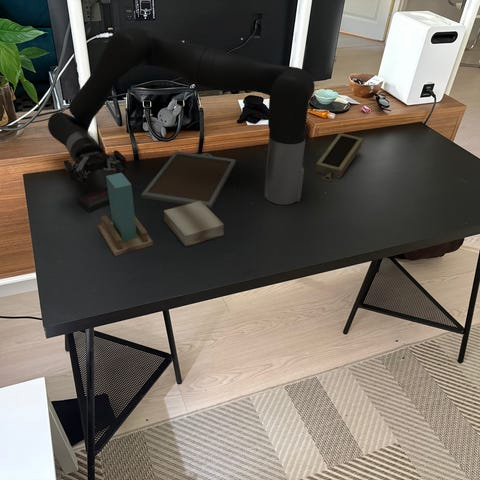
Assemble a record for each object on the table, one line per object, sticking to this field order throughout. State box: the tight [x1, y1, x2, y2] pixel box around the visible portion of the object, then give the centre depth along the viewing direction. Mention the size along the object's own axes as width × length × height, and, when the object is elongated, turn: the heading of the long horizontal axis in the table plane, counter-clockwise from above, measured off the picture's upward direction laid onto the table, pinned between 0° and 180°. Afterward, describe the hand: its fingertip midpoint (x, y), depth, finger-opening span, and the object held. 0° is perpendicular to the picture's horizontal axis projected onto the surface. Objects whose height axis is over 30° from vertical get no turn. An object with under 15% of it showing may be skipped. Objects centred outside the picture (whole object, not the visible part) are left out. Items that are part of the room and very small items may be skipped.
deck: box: [163, 201, 225, 247], centre depth 116 cm, size 10×12×3 cm
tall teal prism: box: [105, 172, 137, 242], centre depth 108 cm, size 4×6×14 cm, turn 31°
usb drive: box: [77, 186, 110, 214], centre depth 125 cm, size 5×12×3 cm, turn 136°
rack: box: [97, 215, 154, 257], centre depth 112 cm, size 9×12×4 cm
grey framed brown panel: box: [141, 150, 237, 209], centre depth 138 cm, size 19×2×30 cm
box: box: [315, 132, 364, 183], centre depth 146 cm, size 8×22×5 cm, turn 152°
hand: (104, 177), depth 114 cm, fingers open, 8 cm apart
